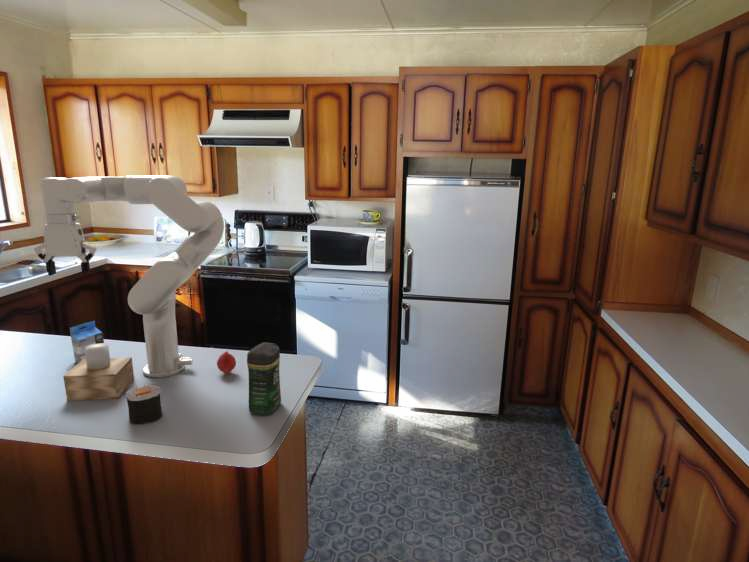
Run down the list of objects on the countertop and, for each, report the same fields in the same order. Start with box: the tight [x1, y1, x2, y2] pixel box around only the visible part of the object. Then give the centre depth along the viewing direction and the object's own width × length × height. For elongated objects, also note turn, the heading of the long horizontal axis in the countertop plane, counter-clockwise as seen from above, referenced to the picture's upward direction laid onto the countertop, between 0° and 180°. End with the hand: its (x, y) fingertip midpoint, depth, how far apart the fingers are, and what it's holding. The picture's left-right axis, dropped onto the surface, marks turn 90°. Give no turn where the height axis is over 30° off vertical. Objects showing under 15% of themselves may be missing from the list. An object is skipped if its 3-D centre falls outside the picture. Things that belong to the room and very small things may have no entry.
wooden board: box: [63, 357, 133, 379], centre depth 138 cm, size 14×12×1 cm
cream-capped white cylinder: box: [85, 342, 111, 370], centre depth 137 cm, size 6×6×6 cm
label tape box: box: [69, 320, 105, 363], centre depth 160 cm, size 9×4×12 cm, turn 155°
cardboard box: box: [63, 359, 135, 402], centre depth 139 cm, size 14×12×7 cm
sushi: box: [125, 384, 163, 426], centre depth 125 cm, size 8×8×8 cm
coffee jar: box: [246, 341, 282, 416], centre depth 129 cm, size 10×8×19 cm
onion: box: [216, 350, 237, 375], centre depth 151 cm, size 6×6×8 cm
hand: (69, 274), depth 145 cm, fingers open, 9 cm apart
